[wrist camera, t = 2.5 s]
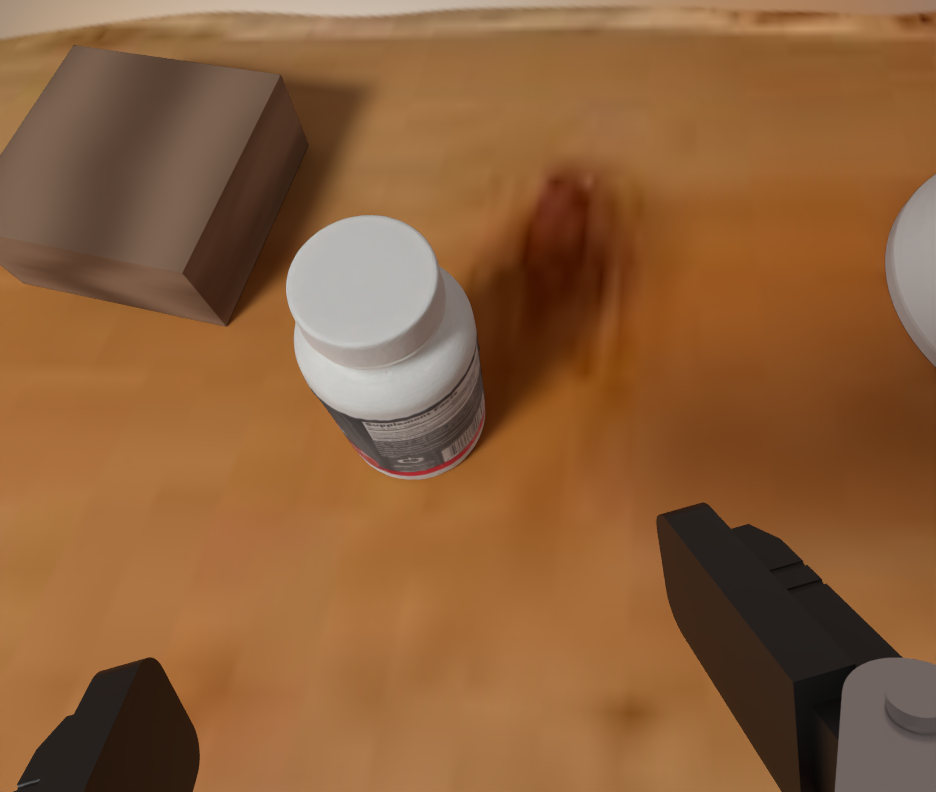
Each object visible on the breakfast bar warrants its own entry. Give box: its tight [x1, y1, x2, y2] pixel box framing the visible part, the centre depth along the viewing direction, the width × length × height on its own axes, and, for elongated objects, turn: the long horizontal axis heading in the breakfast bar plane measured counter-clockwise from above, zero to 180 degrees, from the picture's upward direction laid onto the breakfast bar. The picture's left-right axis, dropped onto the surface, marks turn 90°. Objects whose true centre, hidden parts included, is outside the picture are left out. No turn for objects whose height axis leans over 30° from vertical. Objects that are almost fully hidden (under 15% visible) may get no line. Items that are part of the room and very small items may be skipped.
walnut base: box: [0, 45, 308, 326], centre depth 29 cm, size 10×10×4 cm
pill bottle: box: [286, 215, 485, 480], centre depth 22 cm, size 5×5×10 cm
